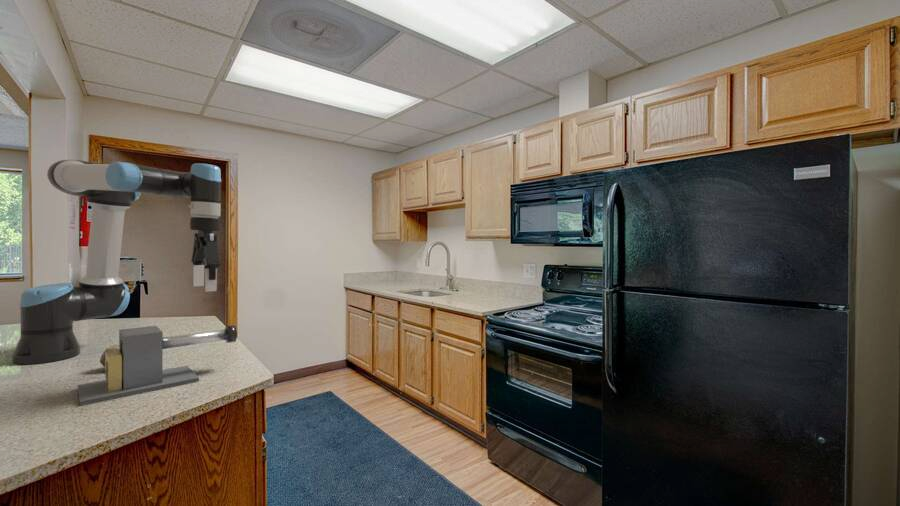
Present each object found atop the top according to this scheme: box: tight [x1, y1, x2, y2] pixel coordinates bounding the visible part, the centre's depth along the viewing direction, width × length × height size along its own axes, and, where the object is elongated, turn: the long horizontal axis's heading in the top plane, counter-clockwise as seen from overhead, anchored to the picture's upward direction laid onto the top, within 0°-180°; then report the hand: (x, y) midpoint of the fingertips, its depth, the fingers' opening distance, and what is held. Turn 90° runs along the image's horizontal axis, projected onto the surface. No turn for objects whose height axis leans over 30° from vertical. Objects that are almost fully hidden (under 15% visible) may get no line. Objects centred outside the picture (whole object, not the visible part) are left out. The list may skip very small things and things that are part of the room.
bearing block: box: [118, 325, 164, 390], centre depth 104 cm, size 10×8×15 cm
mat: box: [77, 365, 200, 406], centre depth 104 cm, size 14×24×1 cm, turn 136°
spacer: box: [104, 348, 122, 393], centre depth 100 cm, size 9×2×9 cm, turn 45°
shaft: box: [163, 324, 238, 350], centre depth 111 cm, size 5×24×5 cm, turn 136°
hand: (204, 288), depth 115 cm, fingers open, 13 cm apart
